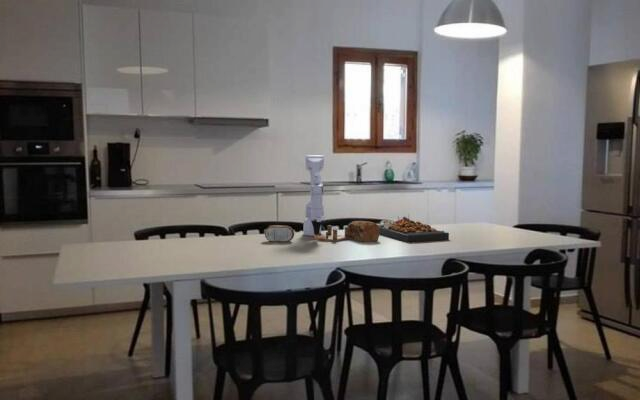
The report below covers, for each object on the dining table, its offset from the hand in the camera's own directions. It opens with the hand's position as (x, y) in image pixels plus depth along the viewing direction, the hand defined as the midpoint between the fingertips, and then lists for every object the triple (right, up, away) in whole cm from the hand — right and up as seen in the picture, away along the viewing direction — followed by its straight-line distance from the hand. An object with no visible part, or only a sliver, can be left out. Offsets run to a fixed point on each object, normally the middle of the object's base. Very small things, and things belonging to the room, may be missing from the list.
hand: (316, 234), depth 282 cm
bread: (+24, -3, +8) cm, 26 cm away
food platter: (+49, -3, +22) cm, 54 cm away
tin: (-19, -4, -1) cm, 19 cm away
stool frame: (+8, -3, +8) cm, 12 cm away
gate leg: (+1, -2, +2) cm, 3 cm away
